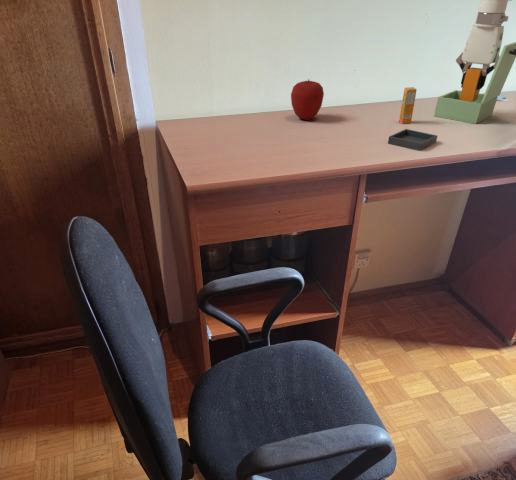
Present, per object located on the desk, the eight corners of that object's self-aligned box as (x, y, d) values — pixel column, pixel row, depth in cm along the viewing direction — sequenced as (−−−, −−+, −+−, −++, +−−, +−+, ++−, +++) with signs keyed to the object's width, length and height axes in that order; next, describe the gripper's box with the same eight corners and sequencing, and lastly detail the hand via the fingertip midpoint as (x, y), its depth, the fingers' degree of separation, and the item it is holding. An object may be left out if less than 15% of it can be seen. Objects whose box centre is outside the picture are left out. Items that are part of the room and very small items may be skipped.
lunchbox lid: (504, 45, 131) (523, 50, 129) (520, 40, 139) (538, 44, 137) (480, 102, 142) (497, 107, 140) (497, 94, 150) (513, 99, 148)
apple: (291, 113, 156) (293, 75, 148) (322, 115, 155) (325, 76, 147) (288, 122, 148) (289, 82, 140) (320, 123, 146) (324, 83, 139)
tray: (436, 142, 132) (437, 135, 130) (420, 150, 126) (421, 143, 125) (404, 135, 137) (405, 128, 136) (387, 143, 131) (388, 136, 130)
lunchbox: (433, 115, 154) (438, 97, 150) (451, 108, 162) (455, 90, 158) (475, 123, 146) (481, 104, 142) (491, 115, 154) (497, 96, 150)
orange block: (477, 99, 150) (485, 68, 145) (472, 102, 148) (480, 70, 142) (464, 98, 153) (472, 67, 147) (459, 100, 150) (466, 69, 144)
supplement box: (397, 121, 149) (404, 86, 142) (407, 120, 149) (414, 86, 142) (400, 123, 146) (407, 89, 140) (411, 123, 146) (418, 89, 140)
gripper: (522, 20, 134) (501, 89, 146) (466, 17, 143) (451, 83, 155) (513, 22, 130) (493, 93, 142) (457, 19, 139) (442, 86, 150)
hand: (471, 87), depth 148 cm, fingers closed on orange block, 4 cm apart
